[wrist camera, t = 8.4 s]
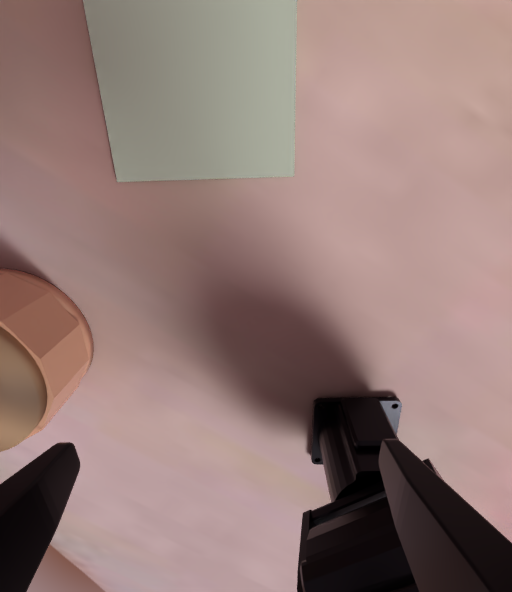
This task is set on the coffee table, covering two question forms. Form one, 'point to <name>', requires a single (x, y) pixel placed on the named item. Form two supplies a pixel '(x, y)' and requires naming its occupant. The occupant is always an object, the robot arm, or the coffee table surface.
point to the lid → (19, 392)
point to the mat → (196, 86)
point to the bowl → (47, 334)
